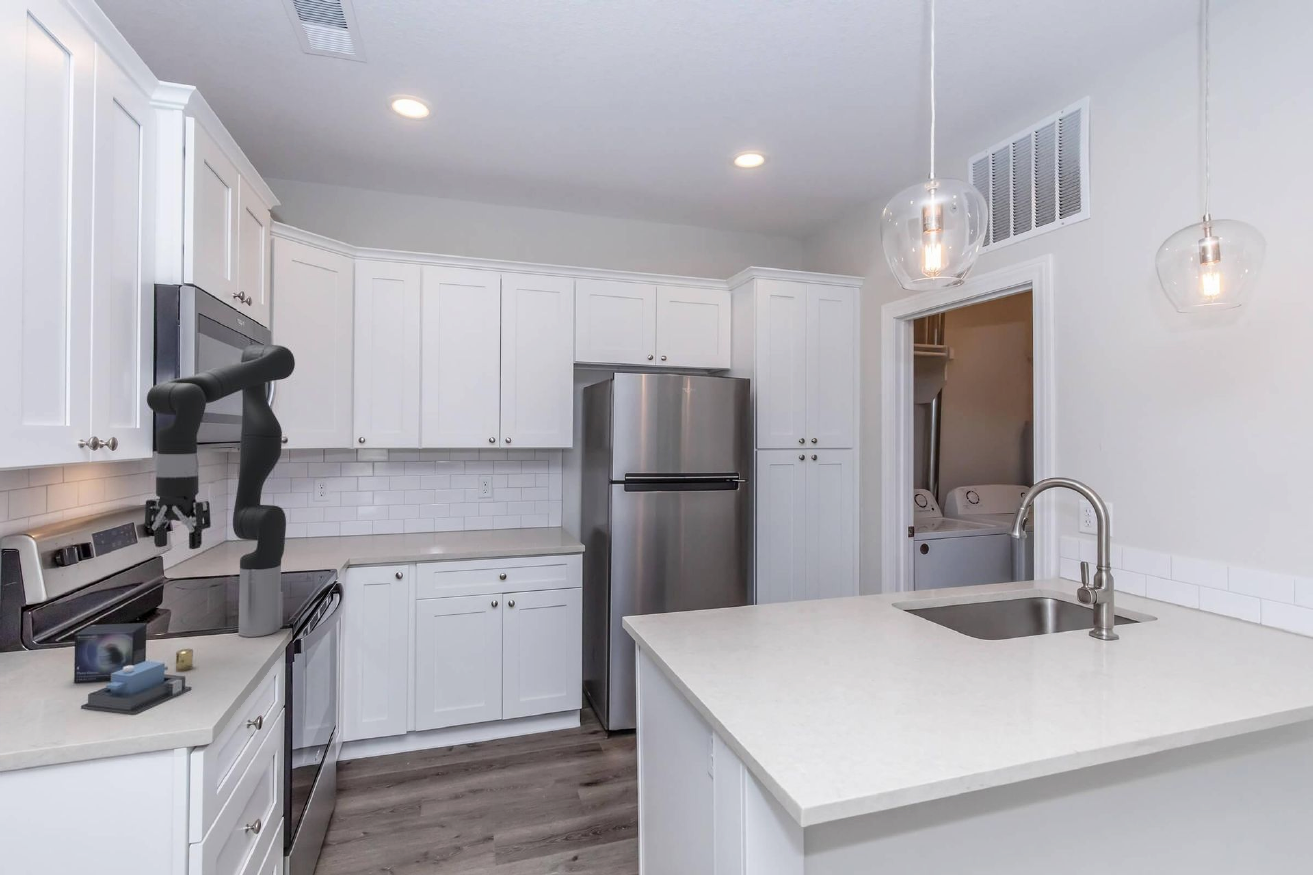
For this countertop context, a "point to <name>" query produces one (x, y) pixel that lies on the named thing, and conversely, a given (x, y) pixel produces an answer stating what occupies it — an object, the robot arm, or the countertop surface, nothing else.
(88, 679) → the small box
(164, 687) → the frame
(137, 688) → the servo
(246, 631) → the robot arm
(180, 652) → the cylinder
